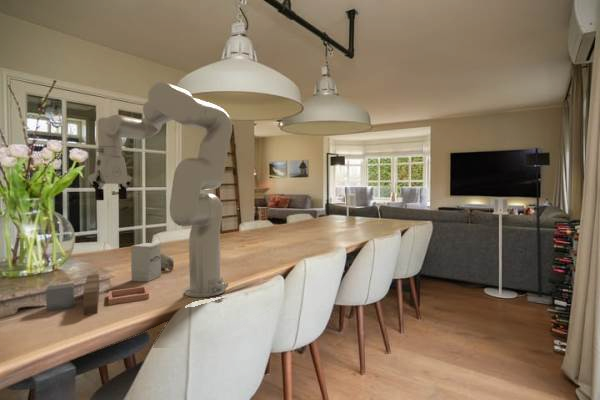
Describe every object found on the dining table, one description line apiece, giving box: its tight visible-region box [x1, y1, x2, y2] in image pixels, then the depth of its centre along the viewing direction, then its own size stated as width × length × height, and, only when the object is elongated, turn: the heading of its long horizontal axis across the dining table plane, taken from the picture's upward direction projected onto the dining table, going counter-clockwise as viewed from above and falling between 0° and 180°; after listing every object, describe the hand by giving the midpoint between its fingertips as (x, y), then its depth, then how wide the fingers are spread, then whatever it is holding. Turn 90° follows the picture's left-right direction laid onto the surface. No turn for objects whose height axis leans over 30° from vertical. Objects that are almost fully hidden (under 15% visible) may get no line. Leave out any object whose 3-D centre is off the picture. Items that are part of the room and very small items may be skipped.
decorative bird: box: [161, 252, 175, 272], centre depth 138 cm, size 5×16×8 cm, turn 53°
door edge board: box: [82, 273, 100, 316], centre depth 98 cm, size 20×3×6 cm, turn 29°
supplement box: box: [130, 242, 162, 282], centre depth 124 cm, size 7×7×13 cm
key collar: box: [108, 285, 150, 305], centre depth 103 cm, size 11×9×2 cm
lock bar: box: [45, 282, 75, 313], centre depth 95 cm, size 6×4×6 cm, turn 119°
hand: (111, 199), depth 124 cm, fingers open, 9 cm apart
